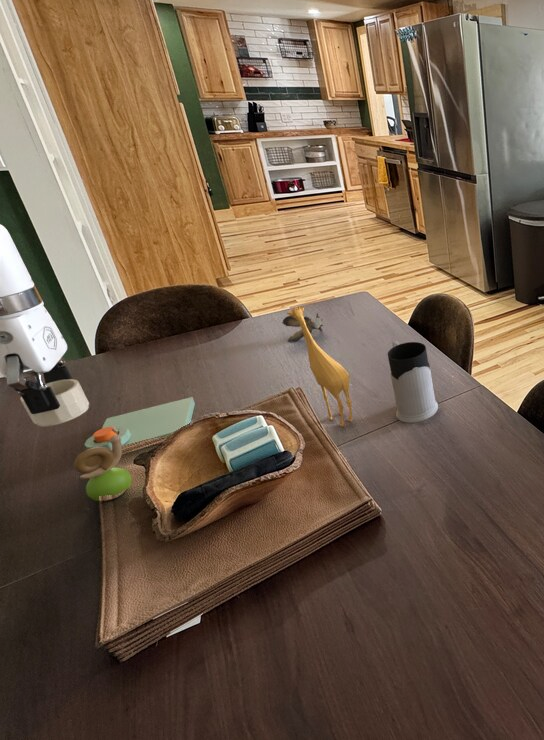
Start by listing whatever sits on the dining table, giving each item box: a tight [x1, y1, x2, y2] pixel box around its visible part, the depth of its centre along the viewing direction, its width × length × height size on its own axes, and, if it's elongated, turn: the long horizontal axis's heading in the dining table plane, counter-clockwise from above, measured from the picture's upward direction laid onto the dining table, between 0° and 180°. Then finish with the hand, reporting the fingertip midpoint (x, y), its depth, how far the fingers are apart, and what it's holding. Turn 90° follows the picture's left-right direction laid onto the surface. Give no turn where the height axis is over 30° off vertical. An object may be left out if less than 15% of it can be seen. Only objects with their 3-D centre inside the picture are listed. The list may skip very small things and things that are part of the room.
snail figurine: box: [73, 428, 133, 502], centre depth 80 cm, size 5×6×12 cm
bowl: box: [19, 379, 90, 427], centre depth 80 cm, size 7×7×5 cm
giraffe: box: [286, 305, 354, 427], centre depth 97 cm, size 16×4×25 cm, turn 56°
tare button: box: [92, 427, 116, 443], centre depth 90 cm, size 3×3×2 cm
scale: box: [83, 396, 196, 450], centre depth 96 cm, size 14×14×4 cm
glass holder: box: [387, 340, 439, 424], centre depth 103 cm, size 9×14×15 cm, turn 39°
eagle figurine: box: [281, 312, 324, 343], centre depth 134 cm, size 8×7×9 cm
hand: (54, 398), depth 80 cm, fingers closed on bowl, 6 cm apart
